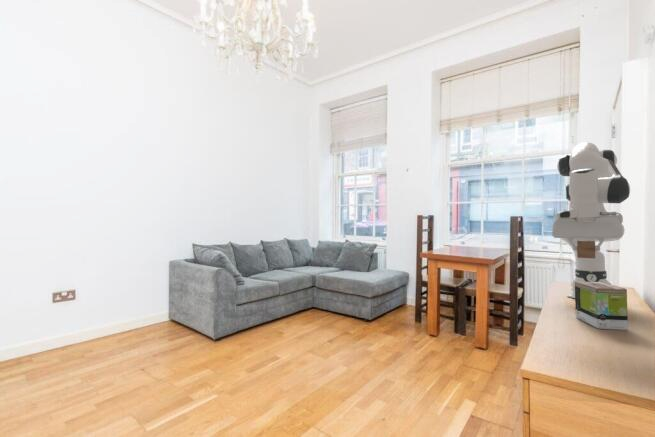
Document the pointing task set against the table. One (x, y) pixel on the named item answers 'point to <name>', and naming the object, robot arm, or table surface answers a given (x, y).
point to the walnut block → (586, 249)
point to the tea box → (601, 305)
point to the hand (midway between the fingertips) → (586, 250)
